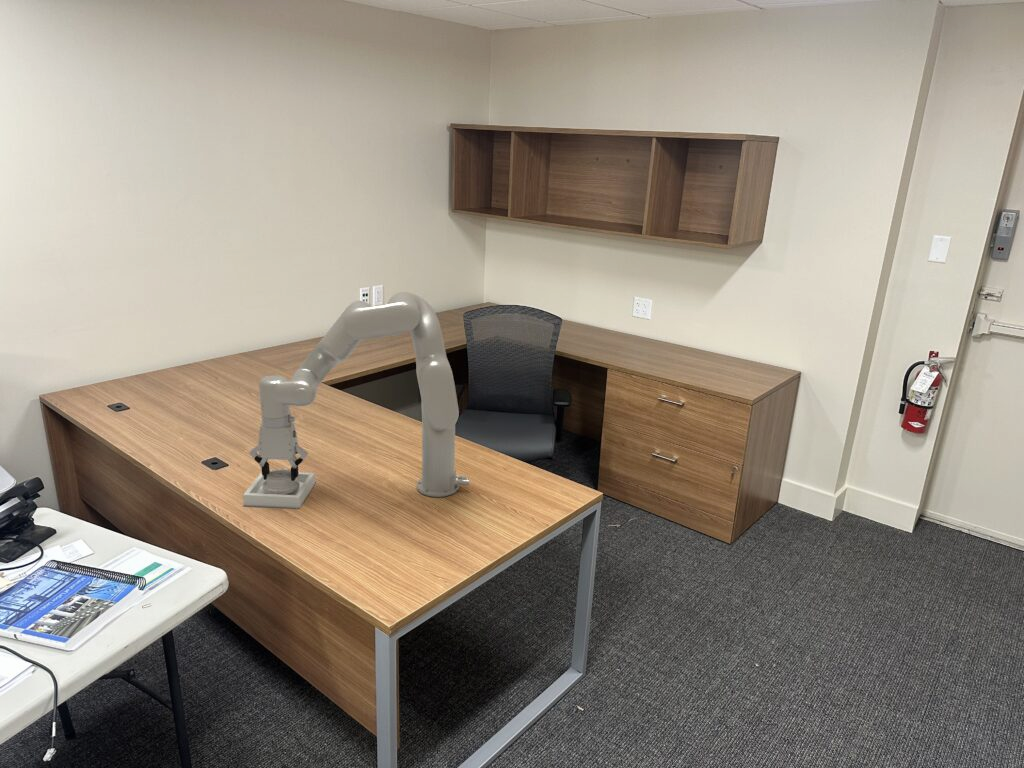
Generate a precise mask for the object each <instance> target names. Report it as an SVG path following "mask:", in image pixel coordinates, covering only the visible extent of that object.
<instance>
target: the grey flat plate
mask: <svg viewBox="0 0 1024 768" xmlns="http://www.w3.org/2000/svg"><path fill="white" fill-rule="evenodd" d="M316 483H317V481H315V484H314V486H315V485H316ZM314 486H313V487H312V489H313V488H314ZM312 489H311V491H312ZM311 491H310V492H309V494H310V493H311ZM309 494H308V495H307V497H306V499H307V498H308V496H309ZM306 499H305V500H304V502H305V501H306ZM304 502H303V503H302V505H303V504H304ZM302 505H301V507H302ZM242 507H243V508H257V509H258V508H262V509H284V510H300V509H301V507H300V508H291V507H270V506H248V505H244V504H243V506H242Z"/></svg>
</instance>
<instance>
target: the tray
mask: <svg viewBox="0 0 1024 768" xmlns="http://www.w3.org/2000/svg"><path fill="white" fill-rule="evenodd" d="M298 473H299V474H298V477H296V478H297V479H298V480H299V488H298V489H297V490H295V491H293V492H291V493H287V494H282V495H280V494H268V493H266V492H264V490H263V483H264V481H266V480H267V479H266V480H264V476H262V471H261V472H260V474H258V476H257V477H256V478H255V480H253V482H252V483H251V484H250V485H249V487H248V489H246V491H245V492H244V493H243V495H242V498H243V505H248V506H270V507H291V508H300V509H301V507H302V506H301V505H303V504H304V503H305V501H306V500H307V498H308V496H309V494H310V493H311V491H312V490H311V489H313V488H314V486H315V485H316V483H315V482H316V473H315V472H303V471H302V472H299V471H298ZM314 484H315V485H314ZM312 487H313V488H312ZM309 492H310V493H309ZM307 495H308V496H307ZM306 497H307V498H306ZM304 500H305V501H304ZM302 503H303V504H302Z"/></svg>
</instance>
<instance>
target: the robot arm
mask: <svg viewBox="0 0 1024 768" xmlns="http://www.w3.org/2000/svg"><path fill="white" fill-rule="evenodd" d="M441 328H442V327H441V324H440V320H439V317H438V316H437V314H436V312H435V310H434V309H433V307H432V306H431V304H430V303H429V302H428V301H426V300H425V299H424V298H422V297H421V296H419V295H418V294H415V293H412V292H408V291H400V292H397V293H394V294H393V295H392V296H391V297H390V299H389V300H388V302H387V304H381V305H371V304H370V303H368V302H367V301H363V300H355V301H353V302H352V303H350V304H349V305H348V306H347V307H346V308H345V309H344V311H342V313H341V314H340V316H339V317H338V318H337V320H336V321H335V322H334V323H333V325H331V327H330V328H329V330H328V331H327V332H326V334H325V335H324V336H322V338H321V340H320V341H319V342H318V343H317V345H316V346H315V347H314V348H313V349H312V351H310V353H309V354H308V355H307V357H306V358H305V359H304V360H303V362H301V364H300V365H299V367H297V369H296V371H295V372H294V374H293V375H292V376H291V379H290V380H288V378H286V377H285V376H283V375H278V374H274V375H272V374H271V375H266V376H263V377H262V378H260V380H259V382H258V390H259V400H260V401H259V402H260V412H261V413H260V414H261V424H260V425H259V429H258V430H259V431H258V444H257V445H256V446H255V447H253V448H252V449H251V450H249V452H248V453H249V455H250V456H251V458H253V459H254V461H255V462H256V463H258V464H259V467H260V468H261V469H260V470H261V472H262V476H264V480H266V479H267V474H269V473H270V471H271V470H270V463H269V462H268V460H276V461H277V460H282V461H283V460H285V461H288V462H289V464H290V466H291V467H290V470H291V480H292V481H294V480H295V479H296V477H298V474H299V473H298V472H299V466H300V464H302V463H303V461H304V460H305V459H306V457H308V454H309V452H308V451H306V450H305V449H304V448H303V447H301V446H300V445H299V439H298V435H297V430H296V427H295V423H294V422H296V416H292V413H291V409H290V408H291V407H290V406H293V407H294V406H296V407H307V406H309V405H311V404H313V402H314V401H315V399H316V397H317V392H318V388H319V386H320V385H321V383H322V382H323V380H324V379H325V378H326V377H327V375H328V374H329V373H330V372H331V371H332V370H333V369H334V368H335V367H337V365H338V364H341V363H343V362H346V361H347V359H348V358H350V356H351V354H352V353H353V352H354V350H355V349H356V348H357V347H358V346H359V344H360V343H361V342H362V341H364V340H371V339H372V340H373V339H380V338H384V337H393V336H398V335H402V334H407V333H410V336H411V342H412V345H413V351H414V357H415V364H416V366H415V367H416V369H415V371H416V372H415V373H416V377H417V378H416V379H417V383H418V388H419V393H420V399H421V406H420V407H421V430H422V431H421V435H422V436H421V478H420V479H419V480H418V481H417V482H416V490H417V492H418V493H421V494H422V495H425V496H427V497H433V498H442V497H447V496H451V495H454V494H456V493H457V492H458V491H459V490H460V486H469V485H470V479H469V478H467V477H466V475H458V474H457V470H455V453H456V452H455V449H456V447H455V446H456V442H455V441H456V423H457V422H458V419H459V414H460V412H459V411H460V410H459V404H458V398H457V392H456V385H455V380H454V375H453V370H452V368H451V365H450V362H449V360H448V357H447V353H446V347H445V341H444V338H443V337H444V336H443V332H442V329H441ZM297 454H299V455H300V457H297V456H296V455H297Z"/></svg>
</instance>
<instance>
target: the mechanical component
mask: <svg viewBox="0 0 1024 768" xmlns="http://www.w3.org/2000/svg"><path fill="white" fill-rule="evenodd" d="M298 488H299V480H298V479H297V478H296V479H295V480H294V481H292V480H291V468H288V469H285V468H280V469H276V468H275V469H272V470H270V473H269V474H267V480H266V481H264V483H263V490H264V492H266V493H268V494H280V495H282V494H287V493H291V492H293V491H295V490H297V489H298Z"/></svg>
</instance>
